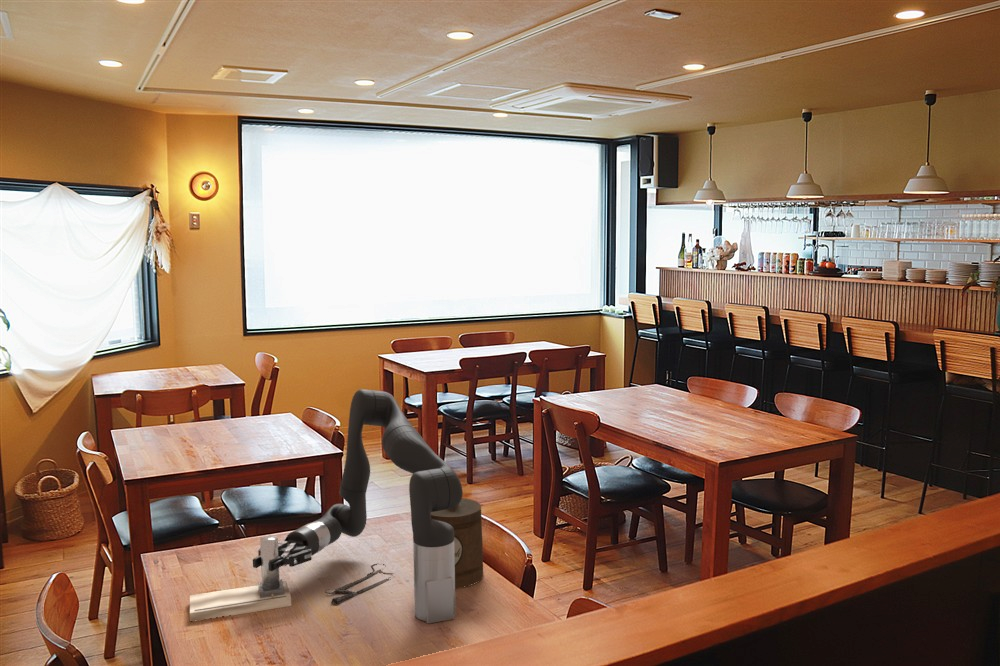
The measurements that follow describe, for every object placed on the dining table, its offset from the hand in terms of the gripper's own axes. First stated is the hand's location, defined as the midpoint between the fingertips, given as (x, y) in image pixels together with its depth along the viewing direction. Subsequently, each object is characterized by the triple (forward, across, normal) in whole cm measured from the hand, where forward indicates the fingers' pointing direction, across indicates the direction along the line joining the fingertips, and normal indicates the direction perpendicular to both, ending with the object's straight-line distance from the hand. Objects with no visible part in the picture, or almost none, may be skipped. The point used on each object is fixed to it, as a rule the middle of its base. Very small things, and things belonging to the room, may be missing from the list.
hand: (262, 565), depth 192 cm
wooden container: (-32, +33, +10) cm, 47 cm away
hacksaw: (-19, +13, +10) cm, 25 cm away
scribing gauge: (-3, 0, +8) cm, 8 cm away
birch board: (+2, -5, +10) cm, 11 cm away
